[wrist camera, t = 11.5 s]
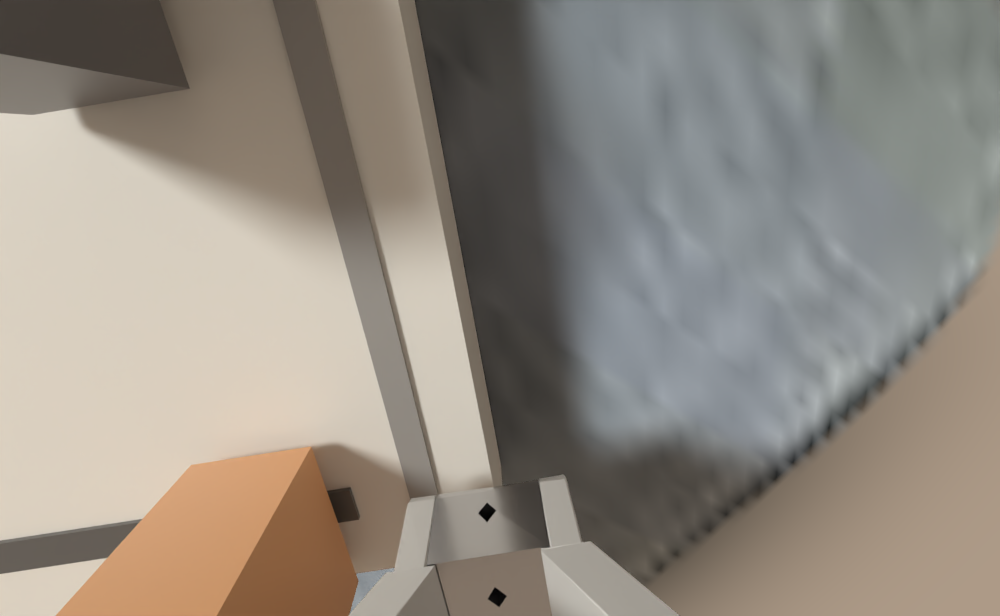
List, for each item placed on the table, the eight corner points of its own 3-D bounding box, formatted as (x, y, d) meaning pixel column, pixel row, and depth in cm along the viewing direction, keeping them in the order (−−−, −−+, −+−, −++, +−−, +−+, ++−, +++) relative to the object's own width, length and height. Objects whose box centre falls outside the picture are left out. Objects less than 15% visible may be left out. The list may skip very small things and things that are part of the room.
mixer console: (-522, 19, 9) (-1000, -40, 6) (388, -140, 9) (341, -281, 6) (-99, 556, 14) (-254, 668, 11) (501, 465, 13) (506, 554, 11)
